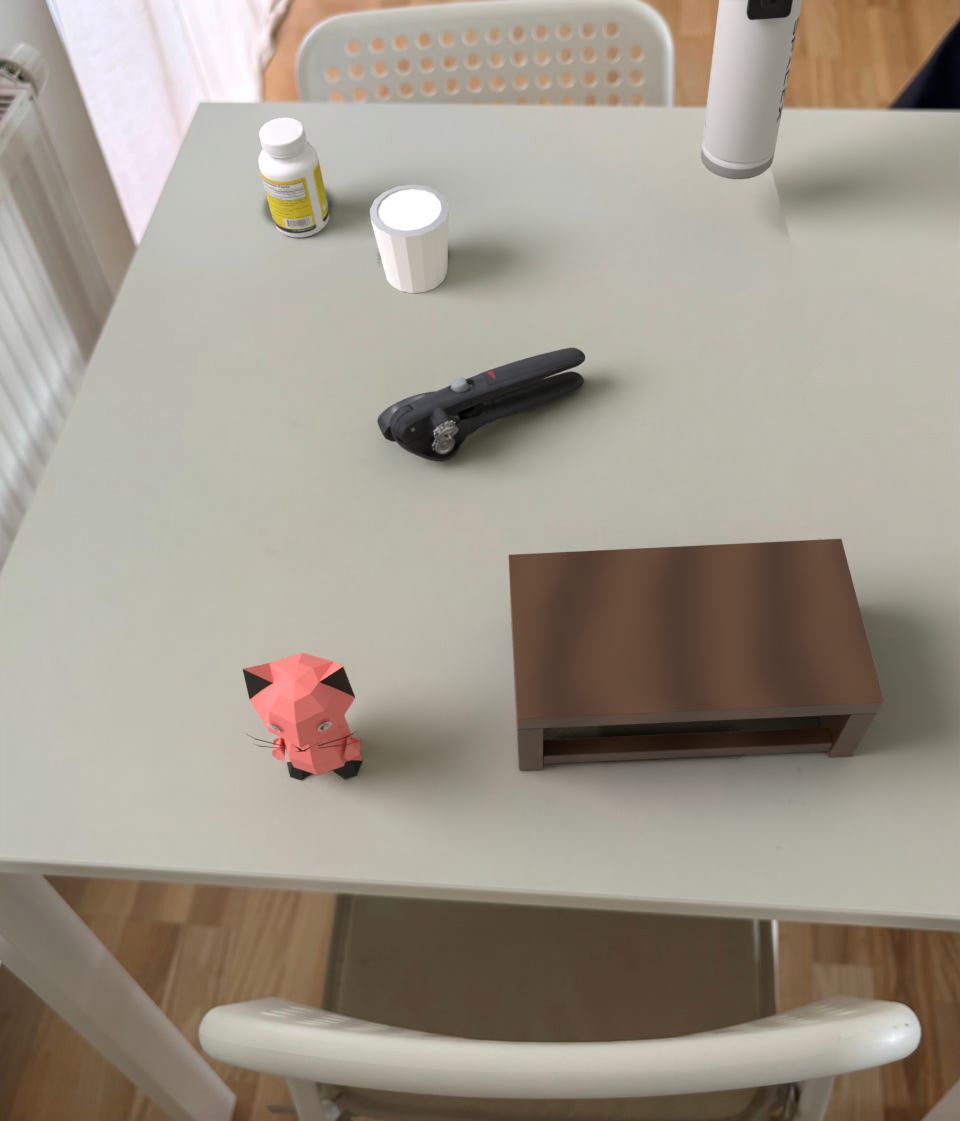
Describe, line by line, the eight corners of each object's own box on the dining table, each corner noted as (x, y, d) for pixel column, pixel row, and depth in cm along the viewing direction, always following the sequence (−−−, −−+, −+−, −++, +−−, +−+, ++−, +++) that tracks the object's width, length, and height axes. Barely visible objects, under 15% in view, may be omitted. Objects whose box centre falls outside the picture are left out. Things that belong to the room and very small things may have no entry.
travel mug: (684, 150, 98) (708, -84, 81) (749, 129, 99) (786, -107, 83) (720, 190, 95) (753, -46, 78) (786, 167, 96) (833, -70, 79)
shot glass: (411, 309, 98) (403, 246, 92) (363, 271, 101) (353, 208, 95) (469, 272, 100) (465, 209, 94) (421, 236, 103) (414, 172, 97)
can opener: (406, 487, 87) (398, 441, 82) (373, 427, 90) (364, 380, 86) (605, 409, 90) (608, 361, 86) (565, 354, 94) (567, 305, 89)
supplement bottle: (304, 194, 107) (285, 104, 99) (341, 218, 105) (325, 128, 97) (262, 222, 105) (238, 132, 97) (298, 247, 103) (278, 157, 95)
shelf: (816, 601, 79) (841, 538, 73) (852, 756, 73) (883, 702, 66) (511, 616, 80) (508, 554, 73) (519, 771, 73) (516, 718, 66)
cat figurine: (268, 801, 73) (225, 722, 63) (278, 707, 76) (239, 619, 67) (374, 799, 72) (349, 719, 62) (379, 705, 76) (356, 616, 66)
